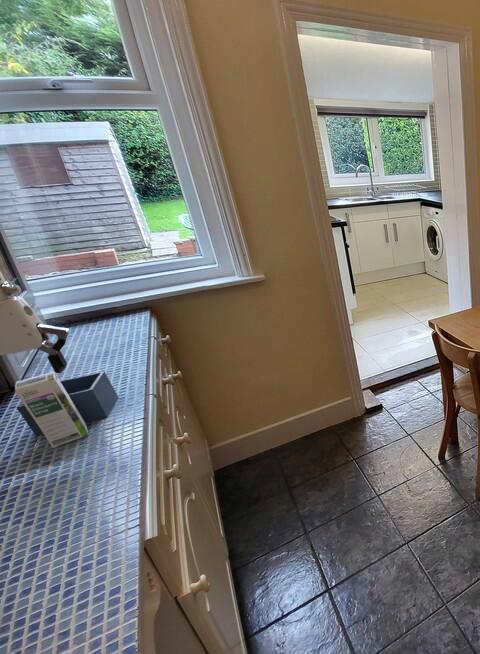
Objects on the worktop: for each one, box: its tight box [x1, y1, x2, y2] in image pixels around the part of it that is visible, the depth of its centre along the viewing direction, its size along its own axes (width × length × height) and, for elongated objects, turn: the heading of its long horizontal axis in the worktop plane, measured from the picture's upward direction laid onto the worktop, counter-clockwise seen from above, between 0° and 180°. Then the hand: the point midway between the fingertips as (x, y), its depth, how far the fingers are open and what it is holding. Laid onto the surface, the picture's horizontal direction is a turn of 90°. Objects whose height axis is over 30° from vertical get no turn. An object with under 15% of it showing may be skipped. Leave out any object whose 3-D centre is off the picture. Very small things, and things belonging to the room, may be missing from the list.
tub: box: [16, 370, 119, 437], centre depth 95 cm, size 12×10×8 cm
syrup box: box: [14, 370, 89, 449], centre depth 86 cm, size 6×6×14 cm
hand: (28, 376), depth 82 cm, fingers open, 9 cm apart
